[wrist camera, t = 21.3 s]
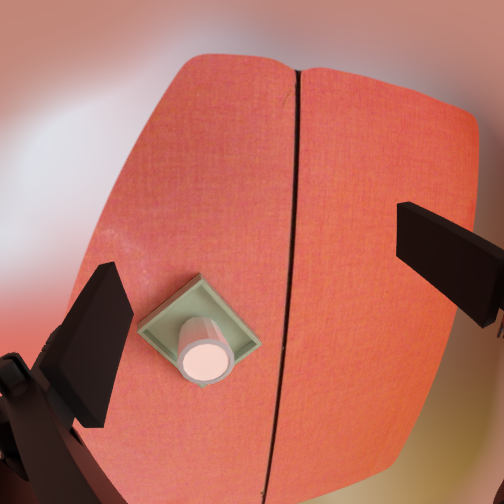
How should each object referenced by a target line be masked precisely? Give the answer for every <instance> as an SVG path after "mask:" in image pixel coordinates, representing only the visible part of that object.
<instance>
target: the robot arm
mask: <svg viewBox="0 0 504 504" xmlns="http://www.w3.org/2000/svg"><path fill="white" fill-rule="evenodd" d="M396 256H397V257H398V258H399V259H401V260H402V261H403V262H404V263H406V264H407V265H408V266H410V267H411V268H412V269H413V270H415V271H416V272H417V273H418V274H420V275H421V276H422V277H423V278H425V279H426V280H427V281H428V282H429V283H431V284H432V285H433V286H434V287H435V288H437V289H438V290H439V291H440V292H441V293H443V294H444V295H445V296H446V297H447V298H449V299H450V300H451V301H452V302H453V303H454V304H456V305H457V306H458V307H459V308H460V309H461V310H463V311H464V312H465V313H466V314H467V315H468V316H469V317H470V318H472V319H473V320H474V321H475V322H476V323H477V324H478V325H479V326H481V328H484V327H487V326H488V325H490V324H492V323H494V322H495V320H496V317H497V313H498V310H499V308H501V309H502V310H503V311H504V250H503V249H501V248H499V247H498V246H496V245H494V244H492V243H491V242H489V241H487V240H485V239H483V238H482V237H480V236H478V235H476V234H474V233H472V232H470V231H469V230H467V229H465V228H463V227H461V226H459V225H457V224H455V223H453V222H451V221H449V220H447V219H445V218H443V217H441V216H439V215H437V214H435V213H433V212H431V211H429V210H427V209H425V208H422V207H420V206H418V205H416V204H414V203H412V202H403V203H398V204H397V245H396ZM133 315H134V313H133V310H132V308H131V305H130V303H129V300H128V298H127V295H126V293H125V290H124V288H123V285H122V282H121V280H120V277H119V274H118V271H117V269H116V266H115V263H114V262H109V263H105V264H101V265H99V266H98V267H97V269H96V270H95V272H94V273H93V275H92V276H91V278H90V279H89V281H88V282H87V284H86V285H85V287H84V288H83V290H82V292H81V293H80V295H79V296H78V298H77V299H76V301H75V303H74V304H73V306H72V308H71V309H70V311H69V312H68V314H67V316H66V317H65V319H64V321H63V323H62V324H61V325H59V326H58V327H57V328H56V329H55V330H54V331H53V332H52V333H51V334H50V336H49V338H48V340H47V341H46V345H44V347H43V348H42V352H40V354H39V356H38V357H37V359H36V361H35V363H34V365H33V367H32V369H31V370H29V368H28V367H27V365H26V364H25V362H24V361H23V359H22V357H21V356H20V355H19V353H15V352H13V353H8V354H6V355H4V356H2V357H1V358H0V393H1V394H2V395H3V396H1V397H0V453H1V455H0V456H1V457H0V504H128V503H127V502H126V501H125V500H124V498H123V497H122V496H121V495H120V493H119V492H118V491H117V489H116V488H115V487H114V486H113V484H112V483H111V482H110V480H109V479H108V477H107V476H106V475H105V473H104V472H103V471H102V469H101V468H100V466H99V465H98V463H97V462H96V460H95V459H94V457H93V456H92V454H91V453H90V451H89V450H88V448H87V447H86V445H85V443H84V442H83V440H82V439H81V437H80V435H79V434H78V432H77V431H76V430H75V429H74V427H73V426H72V424H73V421H74V418H76V419H77V420H78V421H79V422H80V424H81V425H82V426H83V427H84V428H104V423H105V418H106V414H107V410H108V405H109V401H110V397H111V393H112V389H113V385H114V381H115V377H116V374H117V370H118V366H119V362H120V359H121V355H122V352H123V348H124V345H125V341H126V338H127V335H128V331H129V328H130V325H131V321H132V318H133ZM503 331H504V315H503V319H502V322H501V325H500V328H499V331H498V334H497V337H498V338H499V337H500V334H501V333H502V332H503ZM503 338H504V335H503ZM493 504H504V480H503V482H502V484H501V486H500V487H499V489H498V491H497V494H496V496H495V498H494V501H493Z"/></svg>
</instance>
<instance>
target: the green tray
mask: <svg viewBox="0 0 504 504" xmlns="http://www.w3.org/2000/svg"><path fill="white" fill-rule="evenodd" d="M197 316H204V317H208V318H211V319H212V320H213V321H215V322H216V323H217V325H218V327H219V328H220V330H221V332H222V334H223V336H224V337H225V339H226V341H227V343H228V345H229V346H230V348H231V350H232V352H233V354H234V362H235V364H234V365H236V364H237V363H238V362H240V361H241V360H242V359H244V358H245V357H246V356H248V355H249V354H250V353H252V352H253V351H254V350H256V349H257V348H258V347H260V346H261V345H262V343H261V341H260V339H259V337H258V336H257V335H256V334H255V333H254V332H253V331H252V330H251V328H250V327H249V326H248V325H247V324H246V323H245V322H244V321H243V320H242V319H241V318H240V317H239V316H238V314H237V313H236V312H235V311H234V310H233V309H232V308H231V307H230V306H229V305H228V304H227V302H226V301H225V300H224V299H223V298H222V297H221V296H220V295H219V294H218V292H217V291H216V290H215V289H214V288H213V287H212V286H211V285H210V284H209V282H208V281H207V280H206V279H205V278H204V277H203V276H202V274H201V273H199V274H198V275H197V276H196V277H194V278H193V279H192V280H191V281H189V282H188V283H187V284H186V285H184V286H183V287H182V288H181V289H180V290H178V291H177V292H176V293H175V294H173V295H172V296H171V297H170V298H169V299H167V300H166V301H165V302H164V303H162V304H161V305H160V306H159V307H158V308H156V309H155V310H154V311H153V312H151V313H150V314H149V315H148V316H147V317H145V318H144V319H143V320H142V321H140V322H139V323H138V325H137V333H138V334H139V335H140V336H142V337H143V338H144V339H145V340H146V341H147V342H148V343H149V344H150V345H151V346H152V347H154V348H155V349H156V350H157V351H158V352H159V353H160V354H161V355H163V356H164V357H165V358H166V359H167V360H168V361H169V362H171V363H172V364H173V365H174V366H175V367H177V368H178V363H177V359H178V344H179V332H180V329H181V326H182V325H183V324H184V323H185V322H186V320H188V319H190V318H192V317H197ZM178 369H179V368H178ZM196 384H197V383H196ZM197 385H199V386H200V387H201V388H203V387H205V386H206V385H208V384H205V385H202V384H197Z"/></svg>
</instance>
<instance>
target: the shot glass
mask: <svg viewBox="0 0 504 504" xmlns="http://www.w3.org/2000/svg"><path fill="white" fill-rule="evenodd" d="M177 363H178V368H179V371H180V373H181V374H182V375H183V377H184V378H185V379H187V380H189V381H191V382H193V383H197V384H202V385H205V384H213V383H216V382H218V381H220V380H222V379H224V378H225V377H226V376H227V375H228V374H229V373H230V372H231V371H232V368H233V366H234V364H235V362H234V354H233V352H232V350H231V348H230V346H229V345H228V343H227V341H226V339H225V337H224V336H223V334H222V332H221V330H220V328H219V327H218V325H217V323H216V322H215V321H213V320H212V319H211V318H208V317H204V316H197V317H192V318H190V319H188V320H186V322H185V323H184V324H183V325H182V326H181V329H180V332H179V344H178V359H177Z"/></svg>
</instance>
